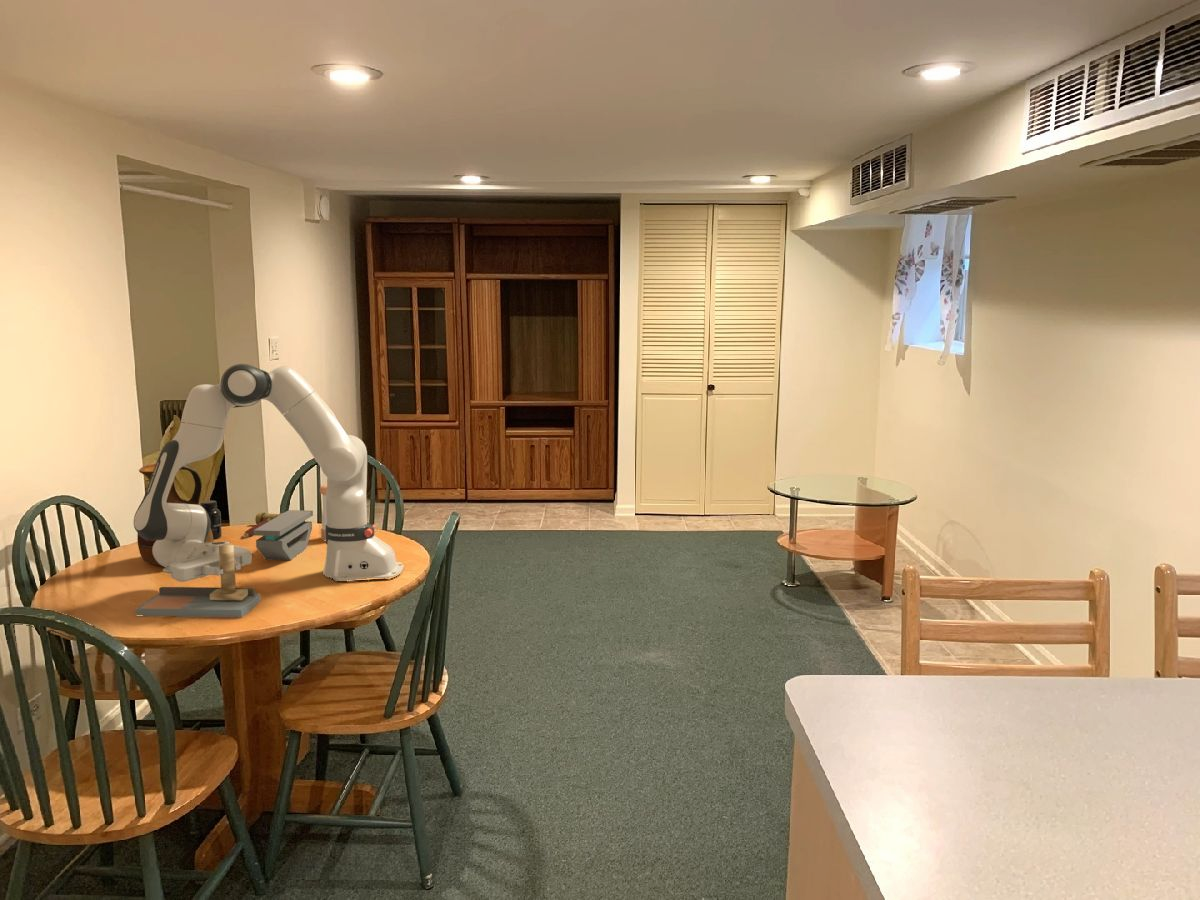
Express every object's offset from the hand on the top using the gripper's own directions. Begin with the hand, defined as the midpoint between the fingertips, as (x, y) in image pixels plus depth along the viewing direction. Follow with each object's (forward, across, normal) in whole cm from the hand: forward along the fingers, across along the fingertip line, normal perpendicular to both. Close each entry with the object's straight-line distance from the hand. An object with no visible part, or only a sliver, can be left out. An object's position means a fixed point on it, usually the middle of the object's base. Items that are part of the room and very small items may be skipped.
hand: (229, 569), depth 221 cm
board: (-6, -5, +10) cm, 13 cm away
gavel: (-59, +50, +11) cm, 78 cm away
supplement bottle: (-64, +35, +10) cm, 74 cm away
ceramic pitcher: (-50, +15, +10) cm, 53 cm away
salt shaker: (-31, +57, +10) cm, 66 cm away
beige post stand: (-1, 0, +8) cm, 8 cm away
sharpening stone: (-28, +38, +10) cm, 48 cm away
